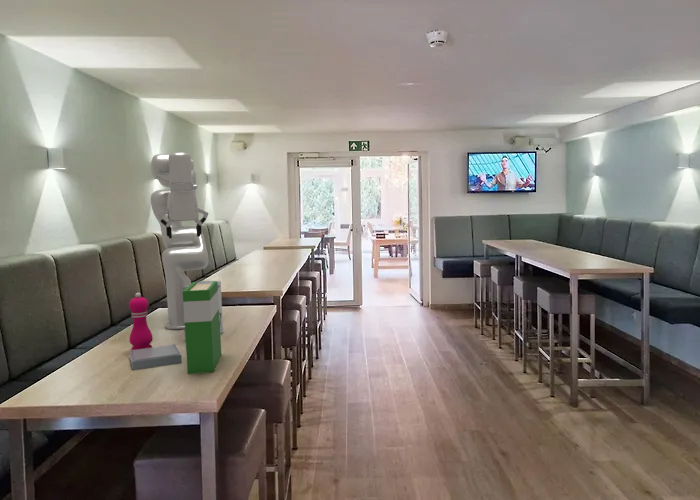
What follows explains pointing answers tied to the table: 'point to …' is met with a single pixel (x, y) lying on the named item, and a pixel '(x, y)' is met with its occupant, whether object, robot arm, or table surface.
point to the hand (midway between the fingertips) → (184, 237)
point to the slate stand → (154, 357)
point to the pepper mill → (140, 324)
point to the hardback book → (202, 327)
